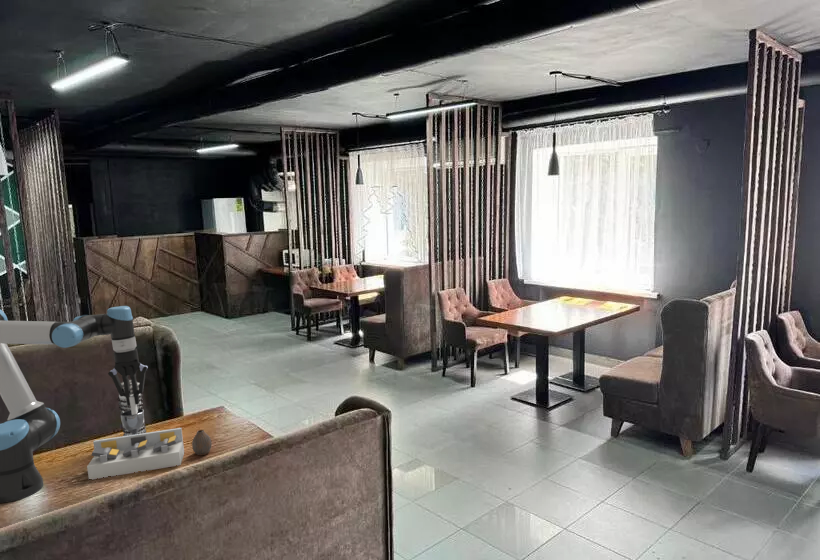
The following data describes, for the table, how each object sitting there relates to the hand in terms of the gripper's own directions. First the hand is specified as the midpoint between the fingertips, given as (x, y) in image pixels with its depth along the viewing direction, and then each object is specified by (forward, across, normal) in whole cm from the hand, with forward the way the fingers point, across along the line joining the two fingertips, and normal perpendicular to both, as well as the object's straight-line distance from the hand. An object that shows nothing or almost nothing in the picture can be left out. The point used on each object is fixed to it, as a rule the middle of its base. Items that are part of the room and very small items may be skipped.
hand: (134, 413), depth 201 cm
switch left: (+13, -11, 0) cm, 17 cm away
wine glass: (+20, -6, +18) cm, 28 cm away
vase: (+21, +20, +4) cm, 29 cm away
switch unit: (+20, -2, 0) cm, 20 cm away
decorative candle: (+20, -8, +27) cm, 35 cm away
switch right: (+13, +9, 0) cm, 16 cm away
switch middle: (+13, -1, 0) cm, 13 cm away
